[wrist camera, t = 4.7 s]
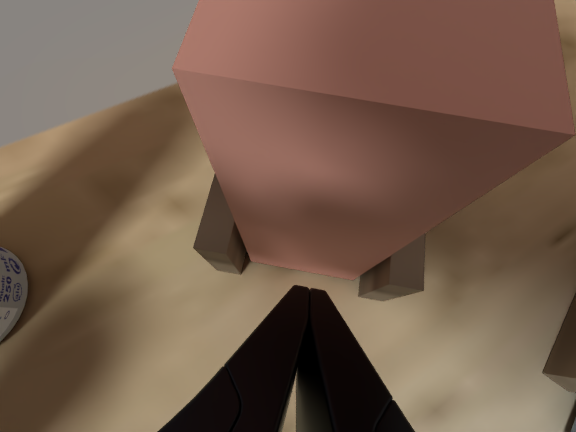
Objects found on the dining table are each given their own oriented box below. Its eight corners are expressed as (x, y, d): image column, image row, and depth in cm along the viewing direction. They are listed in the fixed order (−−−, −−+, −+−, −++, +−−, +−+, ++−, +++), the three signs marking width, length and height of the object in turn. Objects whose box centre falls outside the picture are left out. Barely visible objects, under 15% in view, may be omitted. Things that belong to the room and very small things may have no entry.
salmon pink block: (352, 280, 15) (575, 134, 4) (251, 261, 15) (171, 67, 4) (361, 204, 16) (542, -69, 5) (267, 188, 17) (243, -112, 5)
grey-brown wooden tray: (382, 301, 15) (423, 290, 11) (216, 270, 15) (193, 248, 11) (394, 143, 18) (430, 86, 14) (255, 119, 18) (248, 57, 14)
